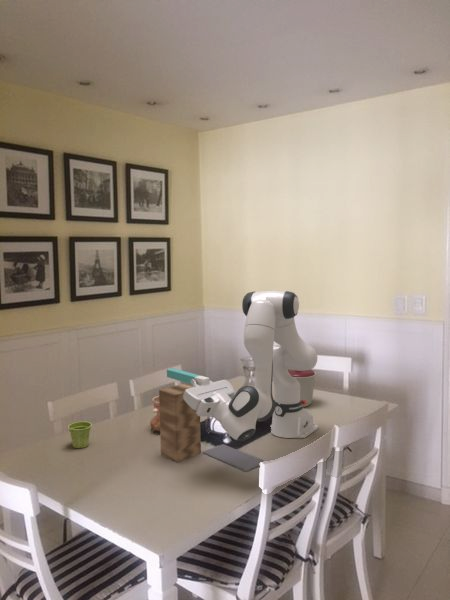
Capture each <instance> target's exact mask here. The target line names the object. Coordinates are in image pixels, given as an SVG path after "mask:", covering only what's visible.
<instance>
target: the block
mask: <svg viewBox="0 0 450 600" xmlns="http://www.w3.org/2000/svg"><path fill="white" fill-rule="evenodd" d="M166 378H169V379H172V380H175V381H179V382H182V383H185V384H190V385H192V384H191V380H192V379H196V380H197V385H199V386H201V385H206V384H210V377H209V376H208V377H207V376H204V375H199V374H196V373H192V372H189V371H185V370H182V369H177V368H173V367H172V368H168V369H166Z"/></svg>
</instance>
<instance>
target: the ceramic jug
mask: <svg viewBox="0 0 450 600" xmlns="http://www.w3.org/2000/svg"><path fill="white" fill-rule="evenodd" d="M152 406H153V409H152V413H154V414H155V413H156V415H154V416H153V417H152V418H151V420H150V422H149V424H150V427H151V429H153V430H154V431H156V432H159V433H160V403H159V395H157V396H154V397H153V398H152Z"/></svg>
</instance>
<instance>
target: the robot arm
mask: <svg viewBox="0 0 450 600" xmlns="http://www.w3.org/2000/svg"><path fill="white" fill-rule="evenodd" d="M241 305H242V307H241V309H242V313H243V314H244V315H245V316H246V318H245V323H244V329H243V344H244V345H243V346H244V348H245V349H246V350H247V352H248V354H249V356H250V357H251V358H252V361H253V364H254V368H255V374H254V376H255V377H254V386H253V385H244V386H241V387H240V388H239V389H237V391H235V389H234V387H233V385H232V384H231V383H230V382H229V380H227V379H220V380H217V381H212V380H210V384H206V385H201V386H199V385H197V380H196V379H192V380H191V384H190V385H191V386H192V387H193V388H189V389H186V390H185V392H184V395H183V399H184V400H185V402H186V403H187V404H188V405H189V406H190V407H191V408H192V409H193V410H196V411H197V412H196V414H197V415H198V416H200V417H210V418H214V419H215V420H216V421H217V422H219V424H220V426H221V427H222V429H223V430H224V431H225V432H226V433H227V434H228V435H229V436H230V437H231V438H232V439H233V440H234V441H239V442H244V441H246V440H248V439H250V438H251V437H252V436H253V435H254V434H255V433H256V425H257V422H265V421H267V420H269V419H271V417H272V419H271V424H270V426H269V428H270V427H271V428H270V433H271V434H272V435H273V436H275V437H279V438H285V439H294V438H295V439H296V438H297V439H305V438H306V437H308V436H310V435H311V434H312V433H314V432H315V431H316V430H318V429H319V425H318V424H316V422H314V417H313V415H312V413H311V412H309V411H308V410H307V409H305V407H303V405H302V404H304V405H306V400H303V399H302V400H300V383H299V382H298V380H297V379H295V378H294V377H292V376H291V375H290V374H289V372H288V370H298V371H304V370H313V369H314V368H315V367H316V365H317V363H318V354H317V351H316V349H315V348H314V347H313V346H311V345H310V344H308V343H306V341H304V339H302V337H301V336H300V335H299V332H298V330H297V326H296V323H295V322H296V321H295V317H296V316H297V315H298V313H299V308H300V301H299V297H298V295H297V294H296V293H295V292H292V291H289V290H286V291H281V290H264V291H263V290H262V291H251V292H247V293H246V294H245V295H244V296H243V298H242V303H241ZM287 369H288V370H287ZM273 388H274V389H273ZM273 390H274V392H273ZM273 393H274V397H273Z"/></svg>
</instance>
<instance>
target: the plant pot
mask: <svg viewBox="0 0 450 600" xmlns="http://www.w3.org/2000/svg"><path fill="white" fill-rule="evenodd" d="M92 425H93V423H91V421H90V422H89V421H76V422H72V423H70V424H68V427H67V429H68V430H69V432H70V436H71V437H70V438H71V443H72V447H73V448H74V449H81V448H84V449H85V448H86V447H88V446H89V443H90V442H89V441H90V433H91V428H92Z"/></svg>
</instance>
